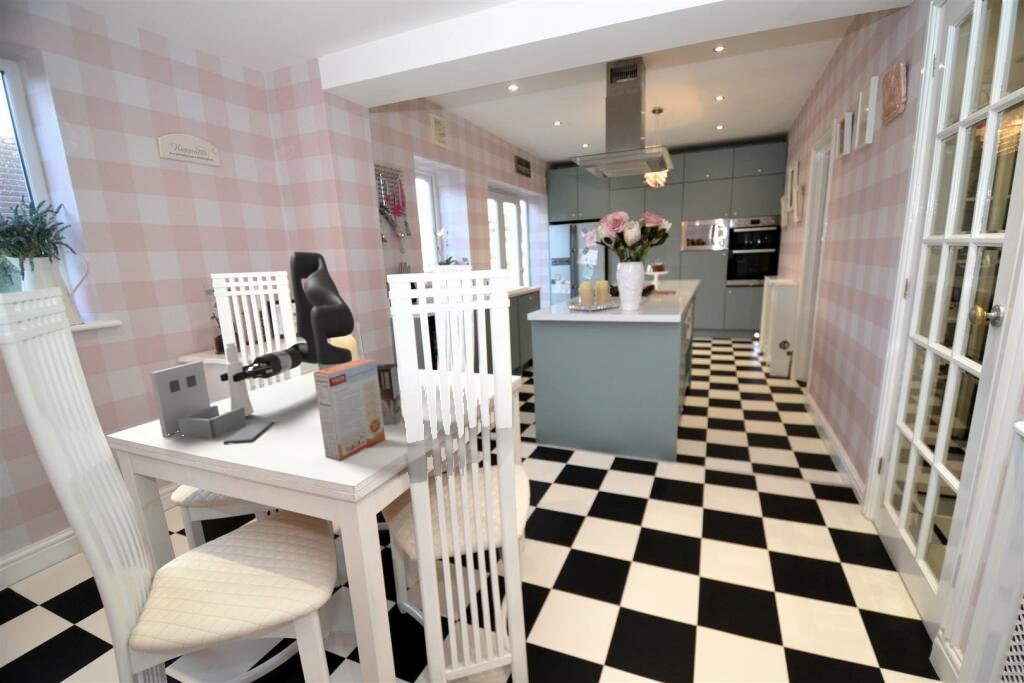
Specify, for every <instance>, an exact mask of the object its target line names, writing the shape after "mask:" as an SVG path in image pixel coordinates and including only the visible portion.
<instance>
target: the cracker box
mask: <svg viewBox="0 0 1024 683" xmlns="http://www.w3.org/2000/svg"><path fill="white" fill-rule="evenodd" d="M313 377H314V378H313V379H314V385H315V386H314V387H315V392H316V400H317V406H318V407H317V408H318V413H319V420H320V426H321V434H322V441H323V448H324V455H325V457H327V458H331V459H332V460H333V459H334V460H338V461H340V460H341V461H342V460H346V459H348V458H349V457H351V456H354V455H355V454H357V453H359V452H361V451H364V450H365V449H367V448H370V447H371V446H373V445H375V444H377V443H380V442H382V441H384V440H385V439H386V434H385V425H384V424H383V415H382V406H381V398H380V389H379V381H378V372H377V360H375V359H366V358H360V359H356V360H352V362H348V363H345V364H341V365H338V366H334V367H330V368H327V369H323V370H316V371H314V372H313Z"/></svg>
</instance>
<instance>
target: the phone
mask: <svg viewBox="0 0 1024 683" xmlns="http://www.w3.org/2000/svg"><path fill="white" fill-rule="evenodd" d="M274 424H276V422H275V420H270V421H259V422H258V421H257V422H254V421H253V422H247V424H245V425H243V426H242V428H240V429H238V430H237V431H236V432H235V433H234V434H232V435H231V436H229V437H228V438H227V439H225V440H224V441H223V445H230V444H229V443H235V444H245V443H253V442H254V441H256V439H258V438H259V437H260V436H261V435H263V434H264V433H265V432H266V431H267V430H268V429H270V428H271V427H272V426H273V425H274ZM270 426H271V427H270Z"/></svg>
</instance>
